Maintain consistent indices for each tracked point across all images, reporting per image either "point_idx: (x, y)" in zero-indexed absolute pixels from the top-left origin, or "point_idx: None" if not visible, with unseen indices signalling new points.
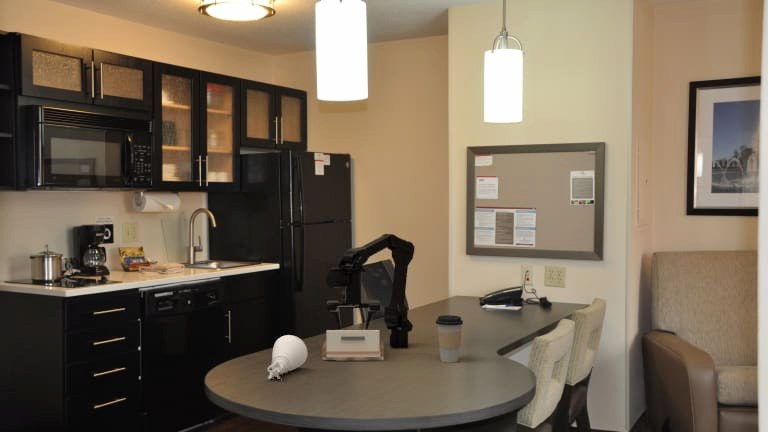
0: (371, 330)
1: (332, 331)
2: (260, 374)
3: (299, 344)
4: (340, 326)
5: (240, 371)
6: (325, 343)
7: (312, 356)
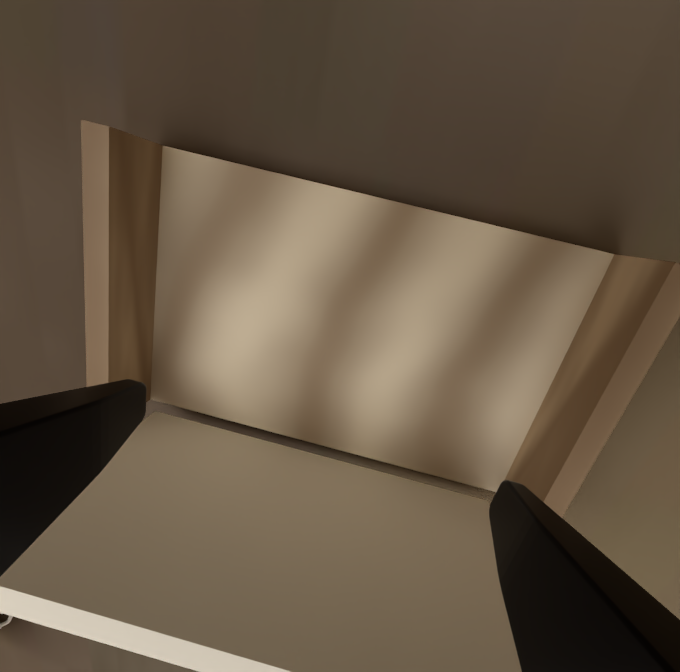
0: None
1: (34, 613)
2: None
3: None
4: (99, 469)
5: None
6: (98, 253)
7: (81, 256)
